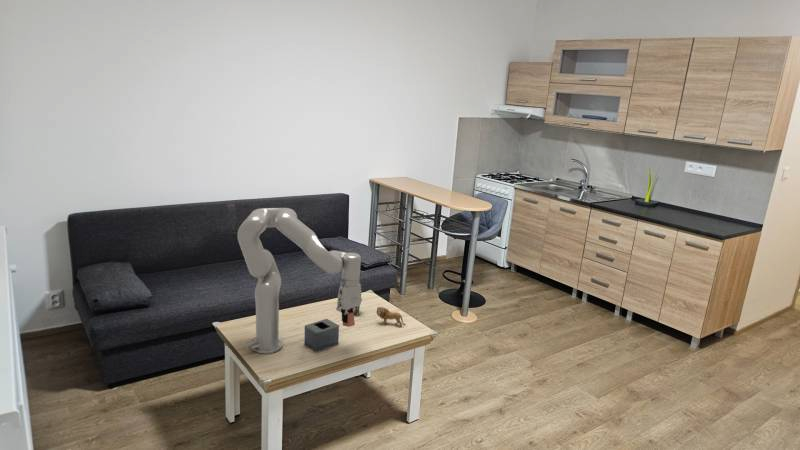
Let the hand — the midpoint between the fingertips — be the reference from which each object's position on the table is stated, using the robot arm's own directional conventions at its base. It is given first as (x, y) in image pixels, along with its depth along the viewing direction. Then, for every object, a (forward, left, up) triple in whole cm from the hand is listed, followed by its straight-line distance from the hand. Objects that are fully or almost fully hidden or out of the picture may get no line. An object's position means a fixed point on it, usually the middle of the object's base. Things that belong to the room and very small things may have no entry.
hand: (347, 320), depth 229 cm
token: (0, -1, -2) cm, 2 cm away
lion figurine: (+31, +5, -13) cm, 35 cm away
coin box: (-7, +10, -13) cm, 17 cm away
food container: (+26, +28, -13) cm, 40 cm away
